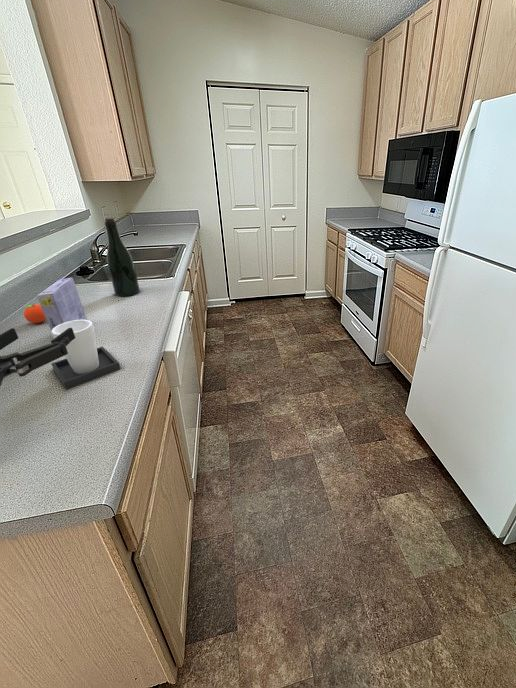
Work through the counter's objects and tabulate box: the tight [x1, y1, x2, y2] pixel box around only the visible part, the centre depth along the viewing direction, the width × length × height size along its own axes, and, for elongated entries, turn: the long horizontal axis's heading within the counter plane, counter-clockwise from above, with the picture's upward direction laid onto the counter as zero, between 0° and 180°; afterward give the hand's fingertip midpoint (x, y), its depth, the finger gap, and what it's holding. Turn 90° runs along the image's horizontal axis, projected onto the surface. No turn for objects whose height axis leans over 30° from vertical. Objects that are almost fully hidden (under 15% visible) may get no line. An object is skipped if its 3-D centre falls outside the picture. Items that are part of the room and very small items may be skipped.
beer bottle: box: [104, 217, 141, 297], centre depth 145 cm, size 10×10×33 cm
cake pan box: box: [36, 277, 88, 331], centre depth 112 cm, size 19×5×18 cm, turn 14°
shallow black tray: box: [50, 346, 121, 390], centre depth 95 cm, size 14×14×2 cm
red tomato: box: [20, 303, 47, 324], centre depth 123 cm, size 8×7×7 cm
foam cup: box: [50, 319, 99, 374], centre depth 92 cm, size 10×9×13 cm
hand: (43, 333), depth 79 cm, fingers open, 13 cm apart
